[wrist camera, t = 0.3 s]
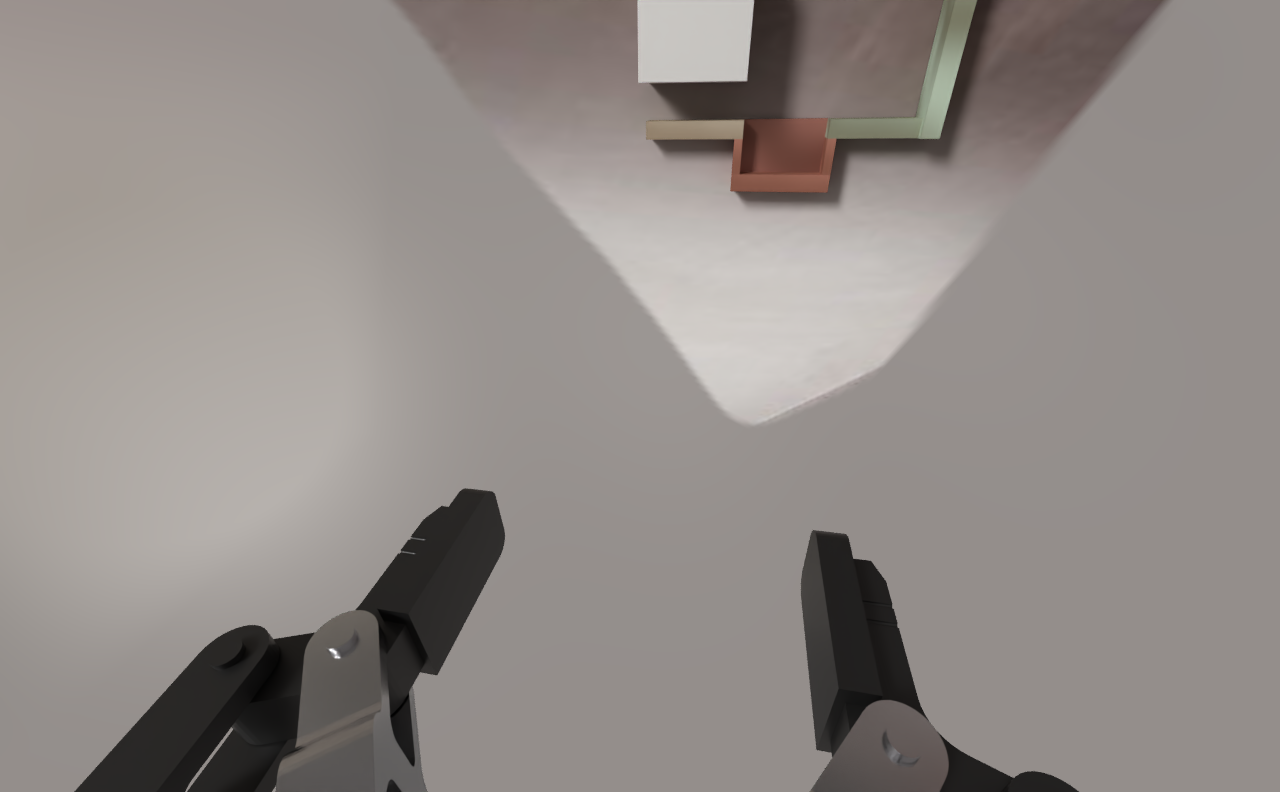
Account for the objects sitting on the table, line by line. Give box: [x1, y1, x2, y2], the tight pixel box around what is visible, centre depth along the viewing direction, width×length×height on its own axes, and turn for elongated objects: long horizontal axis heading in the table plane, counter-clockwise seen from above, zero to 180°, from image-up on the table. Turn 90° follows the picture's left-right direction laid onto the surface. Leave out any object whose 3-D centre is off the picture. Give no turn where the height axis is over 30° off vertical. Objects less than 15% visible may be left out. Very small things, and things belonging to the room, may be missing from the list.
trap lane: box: [646, 0, 977, 192], centre depth 27 cm, size 18×17×2 cm
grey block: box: [638, 0, 754, 83], centre depth 27 cm, size 6×6×4 cm
